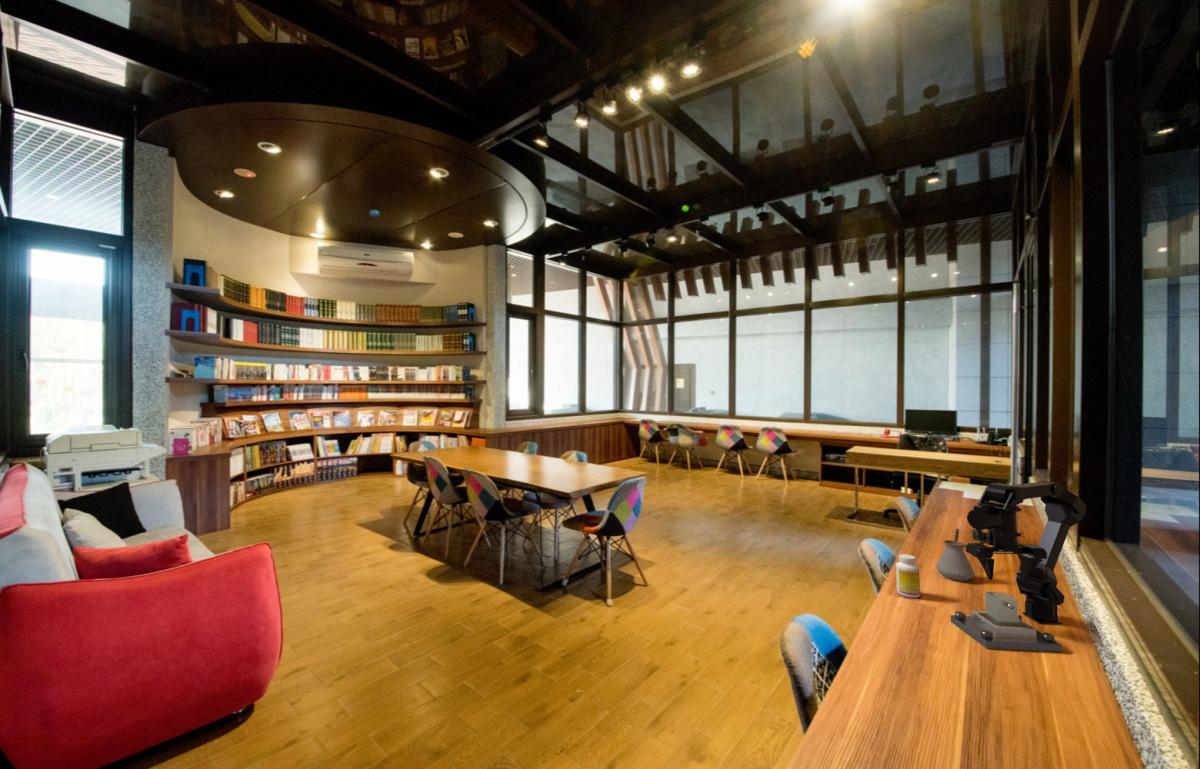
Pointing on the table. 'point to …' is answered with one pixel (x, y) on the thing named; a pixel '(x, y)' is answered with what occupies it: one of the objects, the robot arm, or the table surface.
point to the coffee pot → (955, 561)
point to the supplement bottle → (907, 576)
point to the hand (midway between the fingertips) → (1006, 580)
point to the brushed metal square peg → (1001, 609)
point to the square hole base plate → (1004, 634)
